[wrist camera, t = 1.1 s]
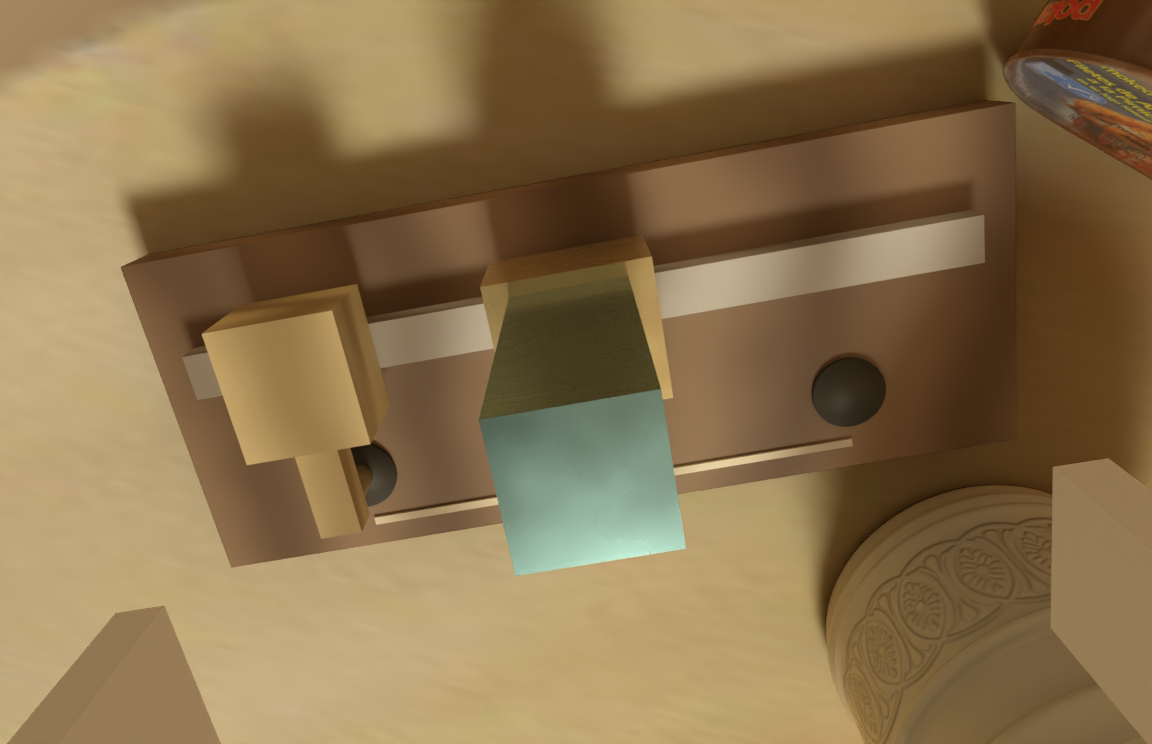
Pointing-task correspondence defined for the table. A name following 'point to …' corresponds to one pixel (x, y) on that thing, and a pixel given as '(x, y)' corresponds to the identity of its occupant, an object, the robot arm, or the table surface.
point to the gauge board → (688, 312)
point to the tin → (1091, 74)
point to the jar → (962, 630)
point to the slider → (579, 407)
